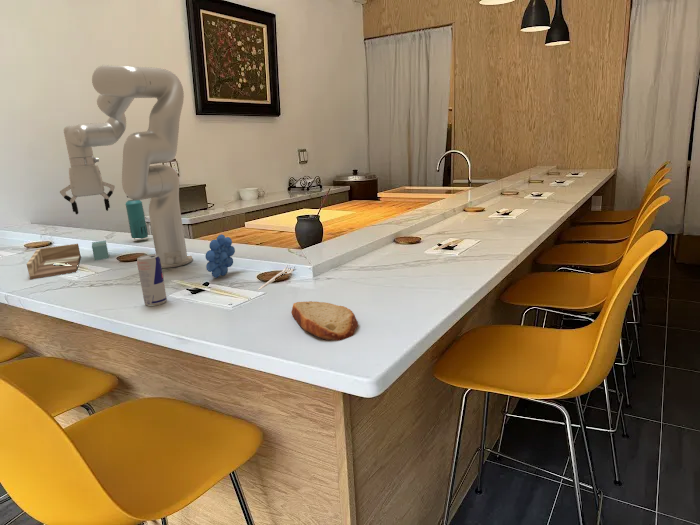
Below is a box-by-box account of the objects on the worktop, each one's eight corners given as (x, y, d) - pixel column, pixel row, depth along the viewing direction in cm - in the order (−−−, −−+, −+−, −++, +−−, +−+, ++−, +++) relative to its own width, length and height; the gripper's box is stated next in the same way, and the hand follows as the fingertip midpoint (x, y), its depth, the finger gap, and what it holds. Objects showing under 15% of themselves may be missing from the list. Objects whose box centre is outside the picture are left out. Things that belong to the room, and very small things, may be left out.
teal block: (108, 258, 183) (106, 244, 181) (94, 260, 181) (91, 246, 180) (108, 253, 191) (105, 240, 189) (94, 255, 189) (92, 242, 188)
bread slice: (297, 307, 121) (296, 292, 120) (371, 311, 116) (370, 295, 115) (263, 338, 105) (261, 321, 104) (348, 344, 99) (346, 326, 98)
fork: (253, 292, 136) (252, 285, 136) (287, 269, 154) (286, 263, 153) (264, 292, 135) (263, 285, 134) (297, 269, 153) (296, 263, 152)
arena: (76, 272, 166) (73, 257, 165) (30, 279, 161) (26, 264, 160) (80, 256, 188) (78, 243, 186) (40, 262, 183) (36, 249, 181)
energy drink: (171, 300, 132) (164, 254, 129) (156, 307, 127) (147, 260, 124) (155, 298, 134) (148, 253, 131) (140, 305, 129) (131, 259, 126)
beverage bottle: (143, 242, 205) (134, 192, 200) (128, 242, 206) (119, 193, 201) (152, 238, 211) (144, 189, 206) (137, 239, 213) (129, 190, 207)
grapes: (225, 269, 157) (220, 230, 154) (242, 270, 154) (237, 231, 151) (197, 280, 148) (191, 239, 144) (216, 282, 144) (210, 240, 141)
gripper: (110, 159, 184) (118, 207, 188) (55, 164, 177) (65, 213, 182) (109, 160, 177) (119, 210, 181) (52, 165, 170) (63, 216, 175)
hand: (92, 212), depth 182 cm, fingers open, 9 cm apart
